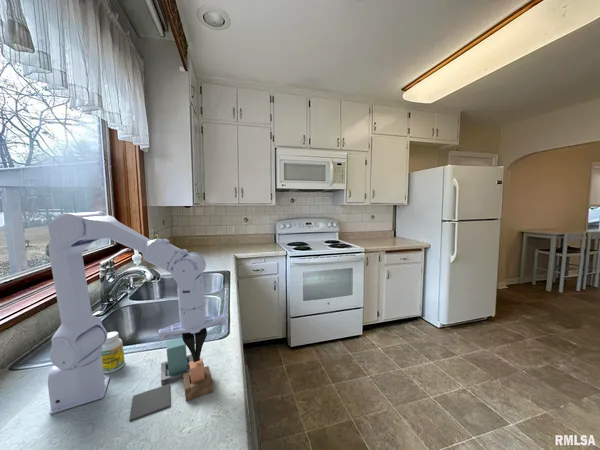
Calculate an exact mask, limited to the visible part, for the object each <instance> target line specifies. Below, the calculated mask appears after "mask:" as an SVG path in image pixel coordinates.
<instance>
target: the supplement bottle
mask: <svg viewBox="0 0 600 450" xmlns="http://www.w3.org/2000/svg"><path fill="white" fill-rule="evenodd" d="M119 335H120V334H119V332H118V331H110V332H107V340H106V342H105V343H104V344H103V345H102V346H103V350H102V351H101V354H102V363H103V372H104V374H110V373H114V372H116V371H119V370H120V369H121V368H123V366H125V363H126V362H125V361H126V360H125V352H124V345H123V344H124V343H123V339H122V338H120V336H119Z"/></svg>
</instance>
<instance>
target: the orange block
mask: <svg viewBox="0 0 600 450" xmlns="http://www.w3.org/2000/svg"><path fill="white" fill-rule="evenodd" d="M188 363H189V364H188V365H189V369H190V378H191V384H192V383H195V382H198V381H201V380H204V379H205V373H204V367H205V363H204V360H203V357H202V358H201V357H200V361H197V362H193V361H191V362H189V361H188Z"/></svg>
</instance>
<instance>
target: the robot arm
mask: <svg viewBox="0 0 600 450" xmlns="http://www.w3.org/2000/svg"><path fill="white" fill-rule="evenodd" d="M47 227H48V232H49V233H48V234H49V238H50V239H49V243H48V247H47V248H48V255H49V260H50V261H49V262H50V266H51V274H52V278H53V284H54V289H55V296H56V300H57V306H58V311H59V318H60V326H59V327H58V328H57V330H56V331H55V332H54V334H53V335H52V337H51V339H50V341H51V349H50V351H49V360H50V361H51V363H52V364H53V366H52V367H51V368H50V370H49V371H48V372H49V373H48V378H47V389H48V395H49V405H50V411H49V414H50V415H53V414H56V413H58V412H59V413H60V412H62V411H65V410H68V409H72V408H75V407H77V406H82V405H85V404H88V403H90V402H94V401H98V400H100V399H103V398H104V397H105V394H106V391H107V387H108V385H109V382H110V381H109V380H110V376H105V373H104V372H103V363H102V354H101V351H102V350H103V346H102V345H103V344H104V343H105V342H106V340H107V333H108V331H107V329H106V328H105V327H104V325H103V323H102V319H101V317H98V316H95V315H93V312H92V306H91V300H90V295H89V287H88V282H87V275H86V270H85V269H86V268H85V263H84V258H83V252H84V251H85V250H86V249H87V248H88V247H89V246H91V245H92V244H93V243H94V242H96V241H98V240H102V239H107V240H112V241H114V242H116V243H118V244H121V245H123V246H125V247H127V248H130V249H132V250H134V251H136V252H139V253H141V254H142V258H143V260H144V261H146V262H147V263H149V264H151V265H153V266H156V267H157V268H160V269H161V270H163V271H165V272H167V273H170V276H171V278H172V279H173V280H174V281H175V283H176V287H177V299H178V300H177V302H178V314H179V322H177V323H174V324H171V325H169V326H167V327H163V328H160V329H158V338H159V342H161V341H165V340H166V339H168V338H172V337H176V336H179V335H181V337H182V338H183V341H184V343H185V344H186V348H188V350H189V352H190V355H191V354H192V357H193V362H197V361H200V359H201V354H202V353H201V352H202V349H203V345H204V343H205V341H206V339H207V336H208V330H207V329H208V328H209V329H210V328H213V327H216V326H220V325H221V326H224V325H226V321H227V320H226V316H225V314H219V315H208V316H207V314H206V312H207V311H206V298H205V297H206V296H205V284H204V275H203V273H204V271H205V270H206V266H207V265H206V259H205V258H204V257H203V256H202V255H201V254H200V253H198V252H196V251H193V252H191V251H190V252H188V250H187V249H186V248H184V249H182V248H179V247H177V246H175V245H174V244H171V243H170V240H169V239H167V238H162V239H161V238H155V239H150V238H148V237H146V236H145V235H143V234H141V233H139V232H138V231H136V230H134V229H132V227H129V226H127V225H125V224H123V223H122V222H120V221H118V220H117V219H116V218H115V216H113V215H109V214H107V213H106V212H103V211H92V212H76V213H74V212H73V213H72V212H65V213H61V214H58V215H57V216H56V217H55V218H54V219H53V220H51V221H50V222H49V223H48V225H47Z"/></svg>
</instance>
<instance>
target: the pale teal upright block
mask: <svg viewBox="0 0 600 450" xmlns="http://www.w3.org/2000/svg"><path fill="white" fill-rule="evenodd" d="M187 356H188V354H187V346H186V344H185V343H184V341H183V338H182V336H181V337H177V338H174V339H170V340H166V358H167V361H168V367H167V369H168V376H170V375H173V374H176V373H179V372H182V371H186V370H189V368H188V361H187Z"/></svg>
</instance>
